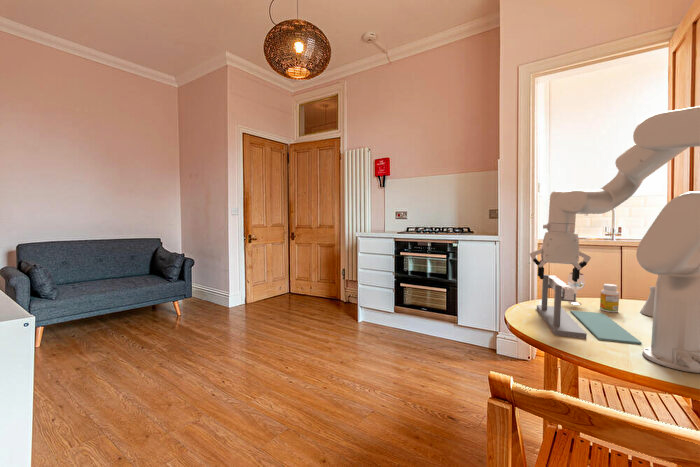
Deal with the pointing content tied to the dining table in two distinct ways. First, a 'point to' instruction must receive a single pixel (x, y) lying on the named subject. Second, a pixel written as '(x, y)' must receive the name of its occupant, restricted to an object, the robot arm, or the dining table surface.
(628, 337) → the teal mat
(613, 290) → the supplement bottle
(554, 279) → the steel rail
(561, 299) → the rail stand
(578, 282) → the wineglass
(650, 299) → the flask
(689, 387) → the dining table surface
